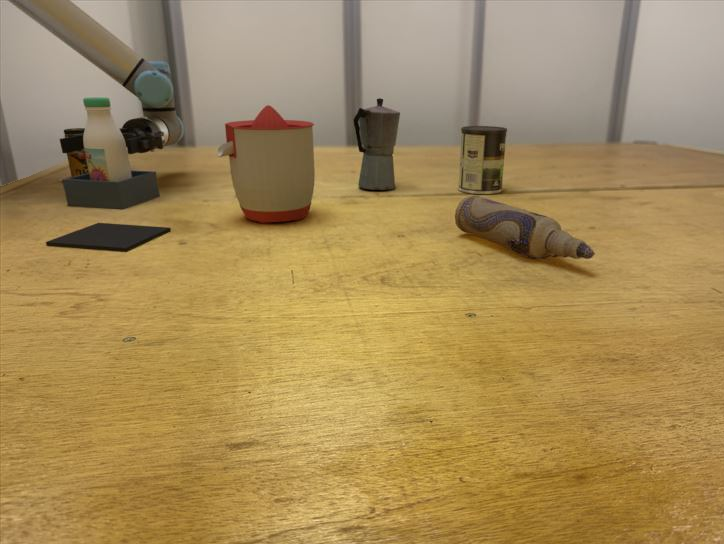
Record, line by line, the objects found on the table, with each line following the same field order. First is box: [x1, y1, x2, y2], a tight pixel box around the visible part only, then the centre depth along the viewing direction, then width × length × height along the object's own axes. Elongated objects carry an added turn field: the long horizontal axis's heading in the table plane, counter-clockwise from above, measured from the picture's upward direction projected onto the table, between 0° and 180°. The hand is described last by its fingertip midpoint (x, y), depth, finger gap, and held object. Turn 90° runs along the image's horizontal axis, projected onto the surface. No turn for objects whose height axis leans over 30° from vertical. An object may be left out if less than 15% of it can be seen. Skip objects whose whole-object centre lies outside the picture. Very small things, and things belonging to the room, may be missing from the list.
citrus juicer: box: [216, 104, 316, 224], centre depth 100 cm, size 16×17×20 cm
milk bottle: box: [82, 96, 132, 182], centre depth 111 cm, size 8×8×20 cm
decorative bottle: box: [454, 194, 596, 260], centre depth 85 cm, size 26×8×7 cm, turn 34°
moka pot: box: [353, 97, 401, 191], centre depth 126 cm, size 10×15×20 cm, turn 149°
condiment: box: [58, 127, 89, 182], centre depth 134 cm, size 7×8×12 cm
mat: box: [45, 222, 172, 253], centre depth 90 cm, size 14×12×1 cm
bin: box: [61, 170, 161, 210], centre depth 114 cm, size 12×12×5 cm
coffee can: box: [457, 125, 508, 195], centre depth 127 cm, size 10×10×14 cm
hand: (95, 146), depth 107 cm, fingers open, 12 cm apart
